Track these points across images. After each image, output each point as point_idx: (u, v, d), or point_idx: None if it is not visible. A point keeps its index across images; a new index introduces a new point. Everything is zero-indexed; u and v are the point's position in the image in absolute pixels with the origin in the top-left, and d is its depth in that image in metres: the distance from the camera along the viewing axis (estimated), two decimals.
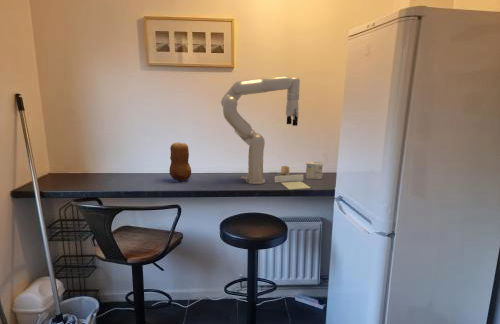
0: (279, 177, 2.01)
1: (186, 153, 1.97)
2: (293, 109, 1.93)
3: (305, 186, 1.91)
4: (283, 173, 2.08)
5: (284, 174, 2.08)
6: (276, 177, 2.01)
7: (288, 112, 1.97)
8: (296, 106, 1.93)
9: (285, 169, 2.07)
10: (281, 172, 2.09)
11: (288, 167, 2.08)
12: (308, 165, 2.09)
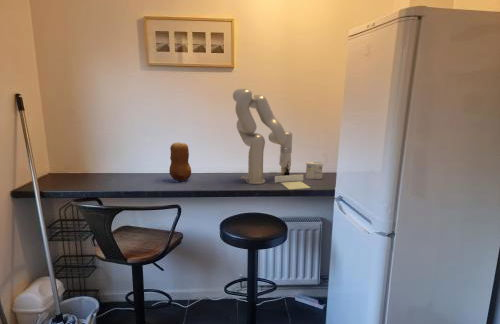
0: (279, 177, 2.01)
1: (186, 153, 1.97)
2: (286, 162, 2.03)
3: (305, 186, 1.91)
4: (283, 173, 2.08)
5: None
6: (276, 177, 2.01)
7: (281, 163, 2.08)
8: (289, 159, 2.04)
9: None
10: (281, 172, 2.09)
11: None
12: (308, 165, 2.09)
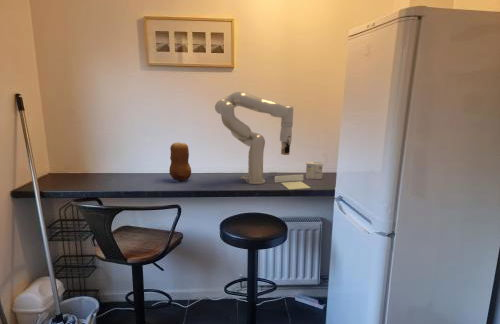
0: (279, 177, 2.01)
1: (186, 153, 1.97)
2: (286, 136, 2.00)
3: (305, 186, 1.91)
4: (283, 148, 2.04)
5: (284, 149, 2.04)
6: (276, 177, 2.01)
7: (282, 138, 2.04)
8: (289, 133, 2.00)
9: None
10: (281, 147, 2.06)
11: None
12: (308, 165, 2.09)
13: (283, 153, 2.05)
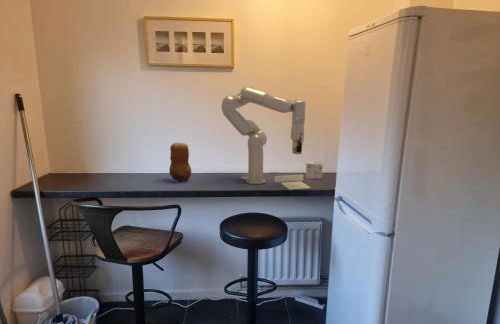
0: (279, 177, 2.01)
1: (186, 153, 1.97)
2: (298, 134, 1.82)
3: (305, 186, 1.91)
4: (295, 147, 1.87)
5: (296, 148, 1.87)
6: (276, 177, 2.01)
7: (293, 136, 1.87)
8: (302, 130, 1.82)
9: None
10: (293, 146, 1.88)
11: None
12: (308, 165, 2.09)
13: (295, 152, 1.88)
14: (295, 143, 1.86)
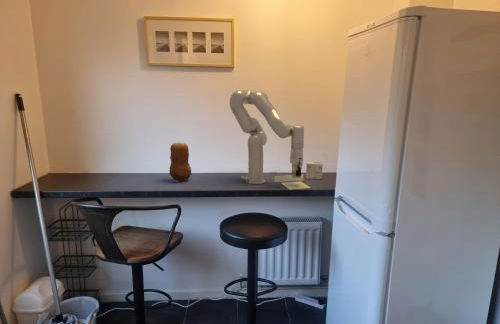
0: (279, 177, 2.01)
1: (186, 153, 1.97)
2: (298, 158, 1.85)
3: (305, 186, 1.91)
4: (295, 171, 1.90)
5: None
6: (276, 177, 2.01)
7: (292, 160, 1.90)
8: (301, 155, 1.85)
9: None
10: (292, 170, 1.91)
11: None
12: (308, 165, 2.09)
13: (294, 176, 1.91)
14: (294, 167, 1.89)
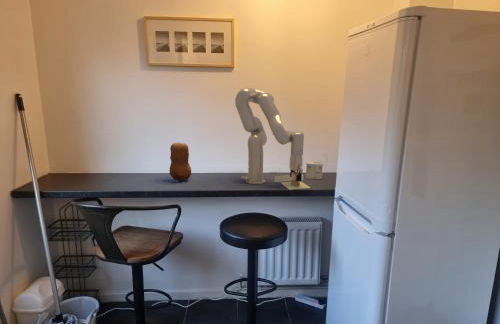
0: (279, 177, 2.01)
1: (186, 153, 1.97)
2: (297, 165, 1.86)
3: (305, 186, 1.91)
4: (294, 179, 1.91)
5: (295, 181, 1.91)
6: (276, 177, 2.01)
7: (292, 167, 1.91)
8: (300, 162, 1.86)
9: (296, 175, 1.90)
10: (291, 178, 1.92)
11: None
12: (308, 165, 2.09)
13: (293, 184, 1.92)
14: (294, 176, 1.91)
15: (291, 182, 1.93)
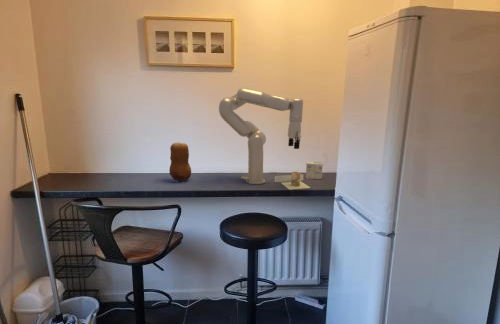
0: (279, 177, 2.01)
1: (186, 153, 1.97)
2: (295, 132, 1.84)
3: (305, 186, 1.91)
4: (294, 179, 1.91)
5: (295, 181, 1.91)
6: (276, 177, 2.01)
7: (290, 134, 1.89)
8: (298, 129, 1.85)
9: (296, 175, 1.90)
10: (291, 178, 1.92)
11: (299, 173, 1.91)
12: (308, 165, 2.09)
13: (293, 184, 1.92)
14: (294, 176, 1.91)
15: (291, 182, 1.93)
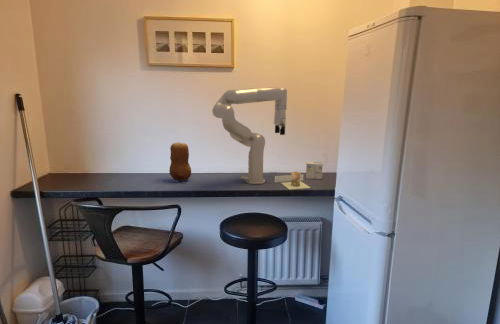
0: (279, 177, 2.01)
1: (186, 153, 1.97)
2: (280, 119, 1.98)
3: (305, 186, 1.91)
4: (294, 179, 1.91)
5: (295, 181, 1.91)
6: (276, 177, 2.01)
7: (276, 121, 2.03)
8: (283, 116, 1.99)
9: (296, 175, 1.90)
10: (291, 178, 1.92)
11: (299, 173, 1.91)
12: (308, 165, 2.09)
13: (293, 184, 1.92)
14: (294, 176, 1.91)
15: (291, 182, 1.93)
